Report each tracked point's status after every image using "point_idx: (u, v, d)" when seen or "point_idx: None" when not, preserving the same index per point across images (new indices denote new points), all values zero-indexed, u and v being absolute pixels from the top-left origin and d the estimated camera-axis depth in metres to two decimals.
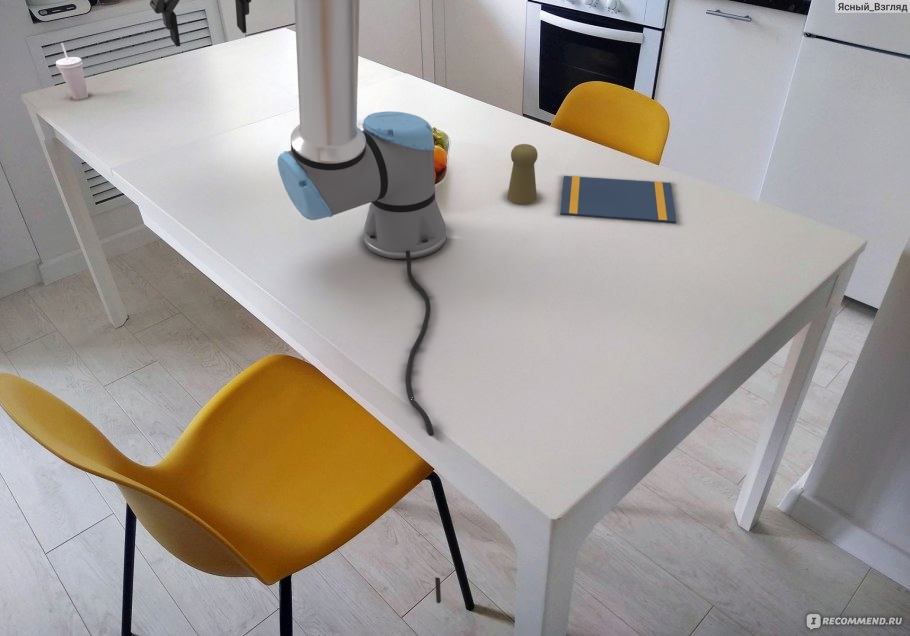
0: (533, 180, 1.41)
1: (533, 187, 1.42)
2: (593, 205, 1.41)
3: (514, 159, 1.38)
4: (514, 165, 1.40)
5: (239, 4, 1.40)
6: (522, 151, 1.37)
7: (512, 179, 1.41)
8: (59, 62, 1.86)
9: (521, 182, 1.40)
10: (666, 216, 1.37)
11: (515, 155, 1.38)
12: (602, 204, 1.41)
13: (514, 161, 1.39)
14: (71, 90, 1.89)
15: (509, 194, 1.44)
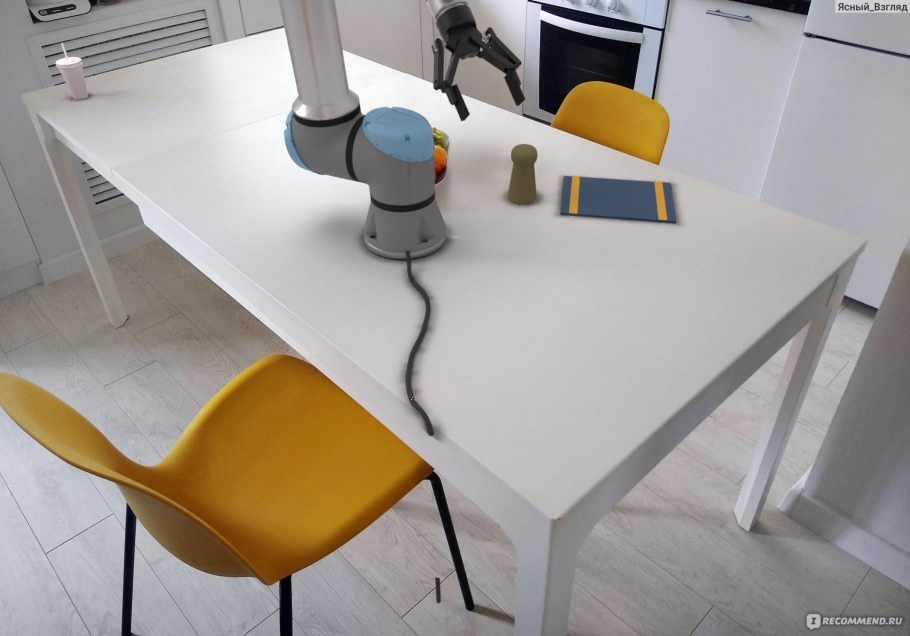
0: (533, 180, 1.41)
1: (533, 187, 1.42)
2: (593, 205, 1.41)
3: (514, 159, 1.38)
4: (514, 165, 1.40)
5: (509, 76, 1.45)
6: (522, 151, 1.37)
7: (512, 179, 1.41)
8: (59, 62, 1.86)
9: (521, 182, 1.40)
10: (666, 216, 1.37)
11: (515, 155, 1.38)
12: (602, 204, 1.41)
13: (514, 161, 1.39)
14: (71, 90, 1.89)
15: (509, 194, 1.44)
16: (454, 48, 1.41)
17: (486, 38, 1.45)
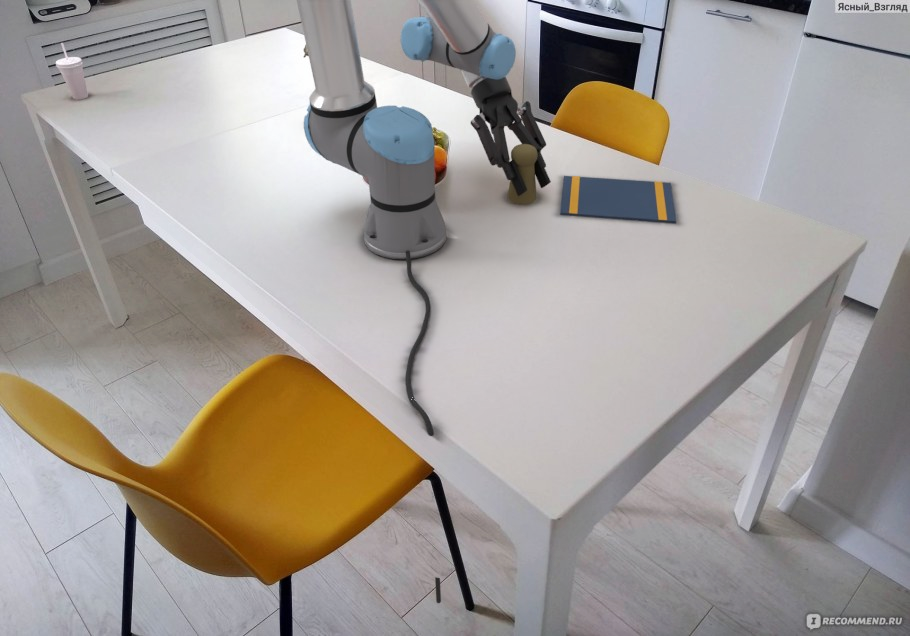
0: (533, 180, 1.41)
1: (533, 187, 1.42)
2: (593, 205, 1.41)
3: (514, 159, 1.38)
4: None
5: None
6: (522, 151, 1.37)
7: None
8: (59, 62, 1.86)
9: None
10: (666, 216, 1.37)
11: (515, 155, 1.38)
12: (602, 204, 1.41)
13: None
14: (71, 90, 1.89)
15: (509, 194, 1.44)
16: (490, 118, 1.39)
17: (521, 110, 1.43)
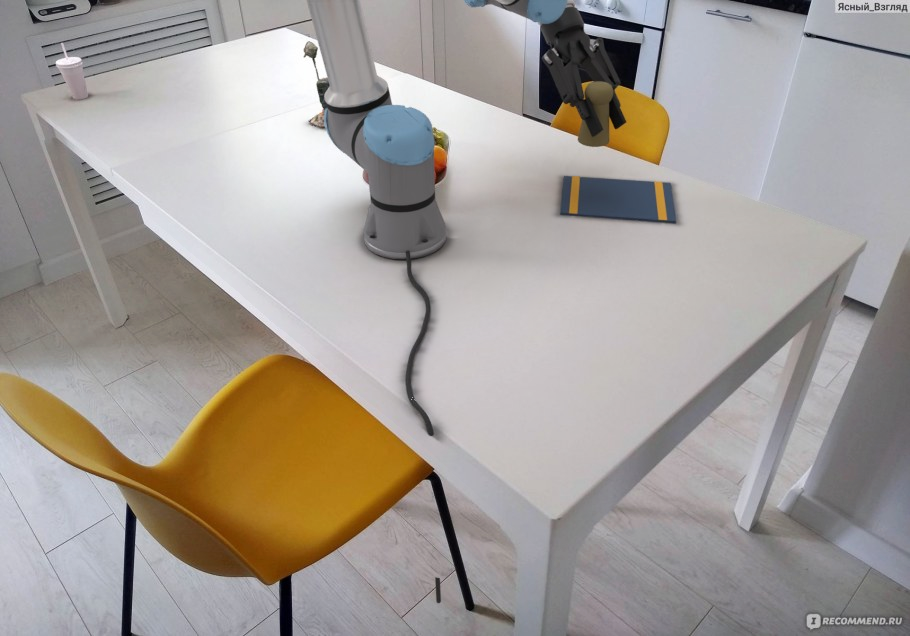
0: (607, 120, 1.33)
1: (607, 128, 1.34)
2: (593, 205, 1.41)
3: (589, 96, 1.30)
4: None
5: None
6: (598, 88, 1.29)
7: None
8: (59, 62, 1.86)
9: None
10: (666, 216, 1.37)
11: (590, 92, 1.29)
12: (602, 204, 1.41)
13: None
14: (71, 90, 1.89)
15: (580, 136, 1.35)
16: (563, 53, 1.31)
17: (593, 46, 1.34)
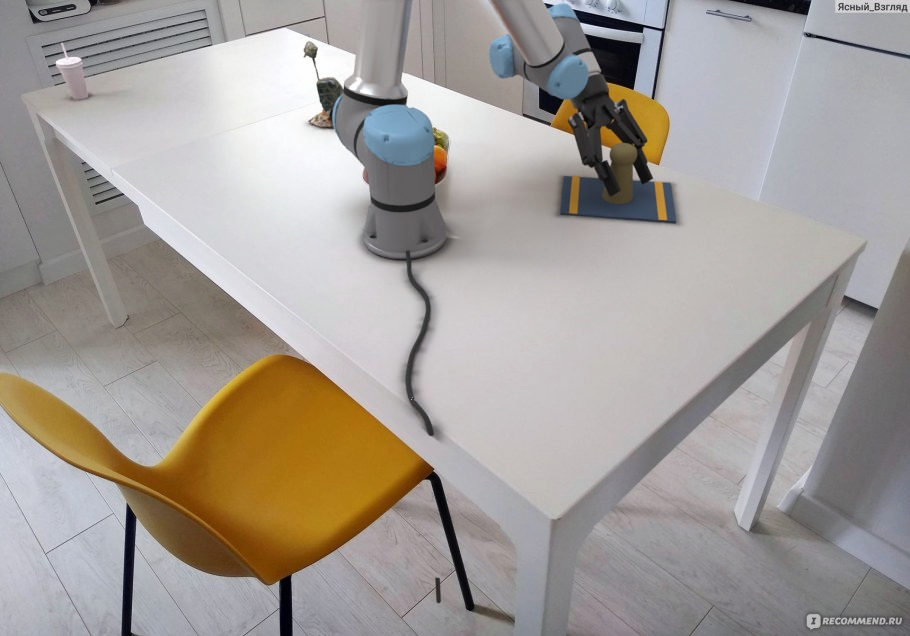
0: (631, 179, 1.40)
1: (630, 186, 1.40)
2: (593, 205, 1.41)
3: (614, 158, 1.37)
4: (613, 164, 1.39)
5: None
6: (623, 150, 1.36)
7: None
8: (59, 62, 1.86)
9: (619, 182, 1.39)
10: (666, 216, 1.37)
11: (615, 154, 1.36)
12: (602, 204, 1.41)
13: (614, 160, 1.37)
14: (71, 90, 1.89)
15: (605, 194, 1.42)
16: (589, 118, 1.38)
17: (618, 109, 1.41)
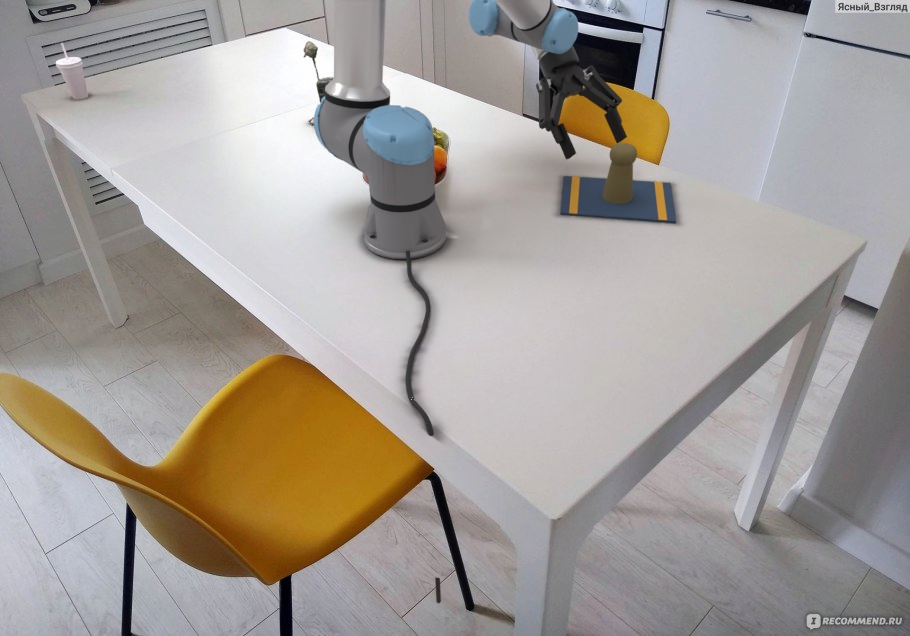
0: (631, 179, 1.40)
1: (630, 186, 1.40)
2: (593, 205, 1.41)
3: (614, 158, 1.37)
4: (613, 164, 1.39)
5: (610, 114, 1.46)
6: (623, 150, 1.36)
7: (609, 178, 1.40)
8: (59, 62, 1.86)
9: (619, 182, 1.39)
10: (666, 216, 1.37)
11: (615, 154, 1.36)
12: (602, 204, 1.41)
13: (614, 160, 1.37)
14: (71, 90, 1.89)
15: (605, 194, 1.42)
16: (559, 87, 1.42)
17: (587, 76, 1.46)
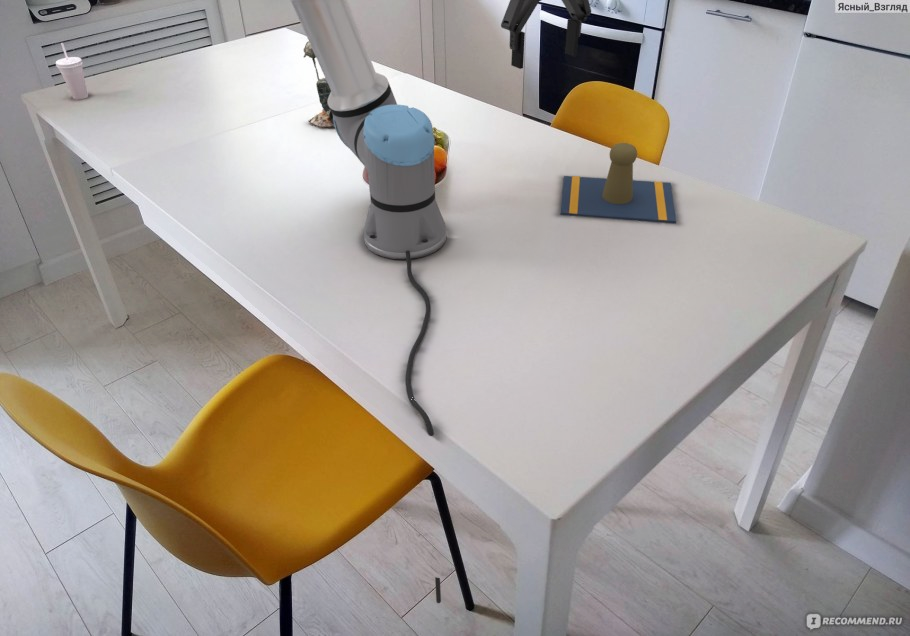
0: (631, 179, 1.40)
1: (630, 186, 1.40)
2: (593, 205, 1.41)
3: (614, 158, 1.37)
4: (613, 164, 1.39)
5: (573, 25, 1.39)
6: (623, 150, 1.36)
7: (609, 178, 1.40)
8: (59, 62, 1.86)
9: (619, 182, 1.39)
10: (666, 216, 1.37)
11: (615, 154, 1.36)
12: (602, 204, 1.41)
13: (614, 160, 1.37)
14: (71, 90, 1.89)
15: (605, 194, 1.42)
16: None
17: None
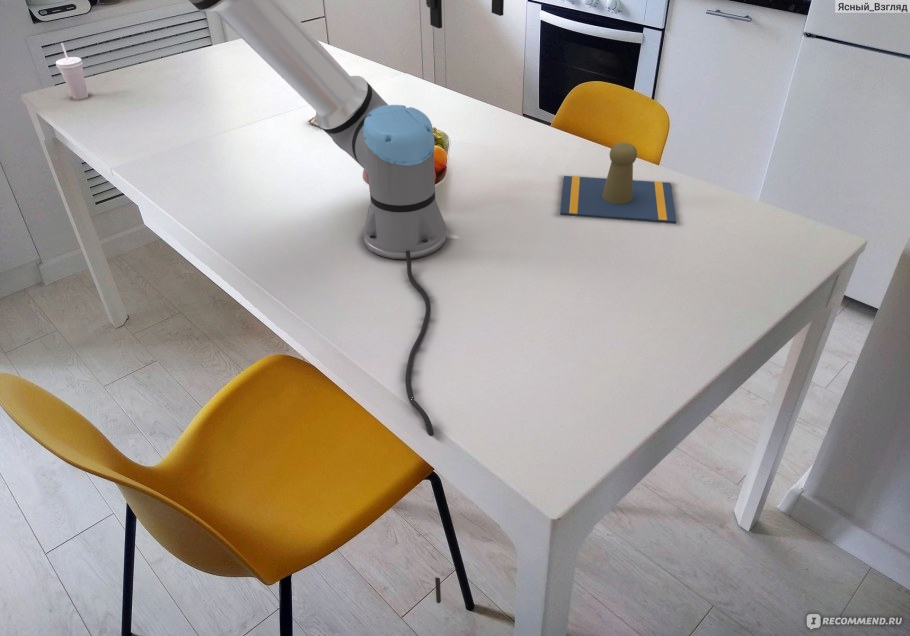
0: (631, 179, 1.40)
1: (630, 186, 1.40)
2: (593, 205, 1.41)
3: (614, 158, 1.37)
4: (613, 164, 1.39)
5: None
6: (623, 150, 1.36)
7: (609, 178, 1.40)
8: (59, 62, 1.86)
9: (619, 182, 1.39)
10: (666, 216, 1.37)
11: (615, 154, 1.36)
12: (602, 204, 1.41)
13: (614, 160, 1.37)
14: (71, 90, 1.89)
15: (605, 194, 1.42)
16: None
17: None
